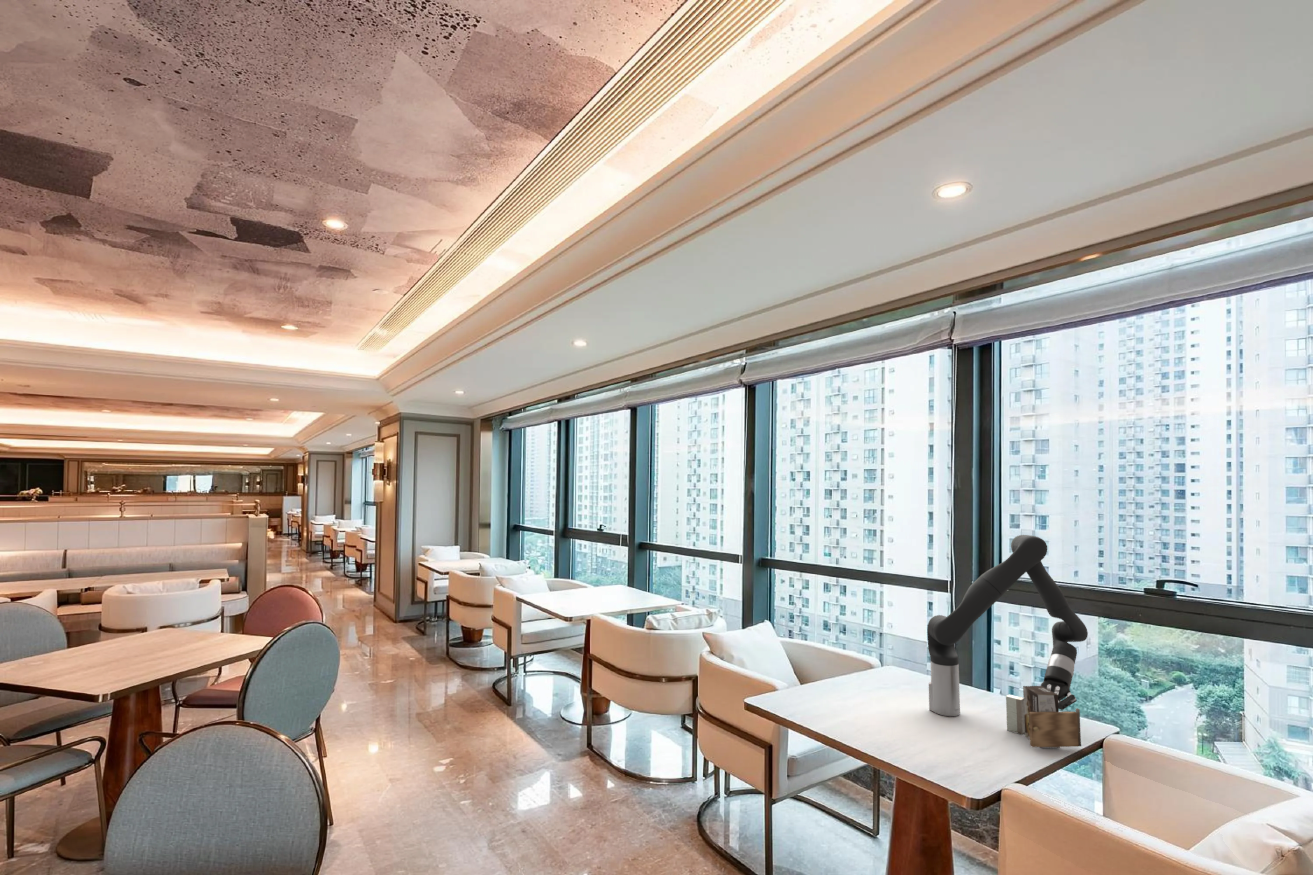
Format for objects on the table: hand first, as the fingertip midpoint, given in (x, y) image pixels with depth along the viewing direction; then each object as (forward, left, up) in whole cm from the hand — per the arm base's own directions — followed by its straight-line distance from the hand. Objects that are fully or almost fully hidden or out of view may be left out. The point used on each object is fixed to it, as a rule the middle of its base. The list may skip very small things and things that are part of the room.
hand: (1048, 717), depth 205 cm
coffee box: (+1, -8, -6) cm, 10 cm away
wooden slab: (+6, -11, -4) cm, 13 cm away
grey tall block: (-8, -5, -5) cm, 11 cm away
